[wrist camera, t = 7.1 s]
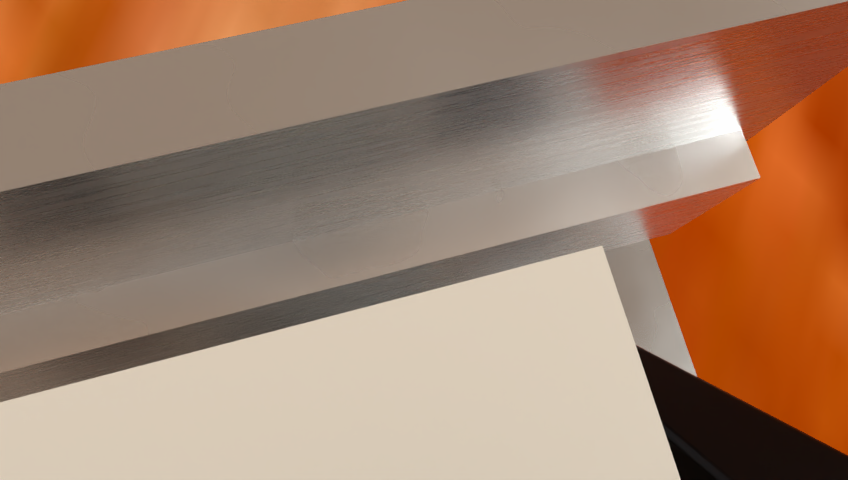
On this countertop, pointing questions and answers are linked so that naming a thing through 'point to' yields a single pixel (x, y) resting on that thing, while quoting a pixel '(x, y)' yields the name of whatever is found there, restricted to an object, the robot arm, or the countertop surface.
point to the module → (376, 395)
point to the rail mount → (377, 166)
